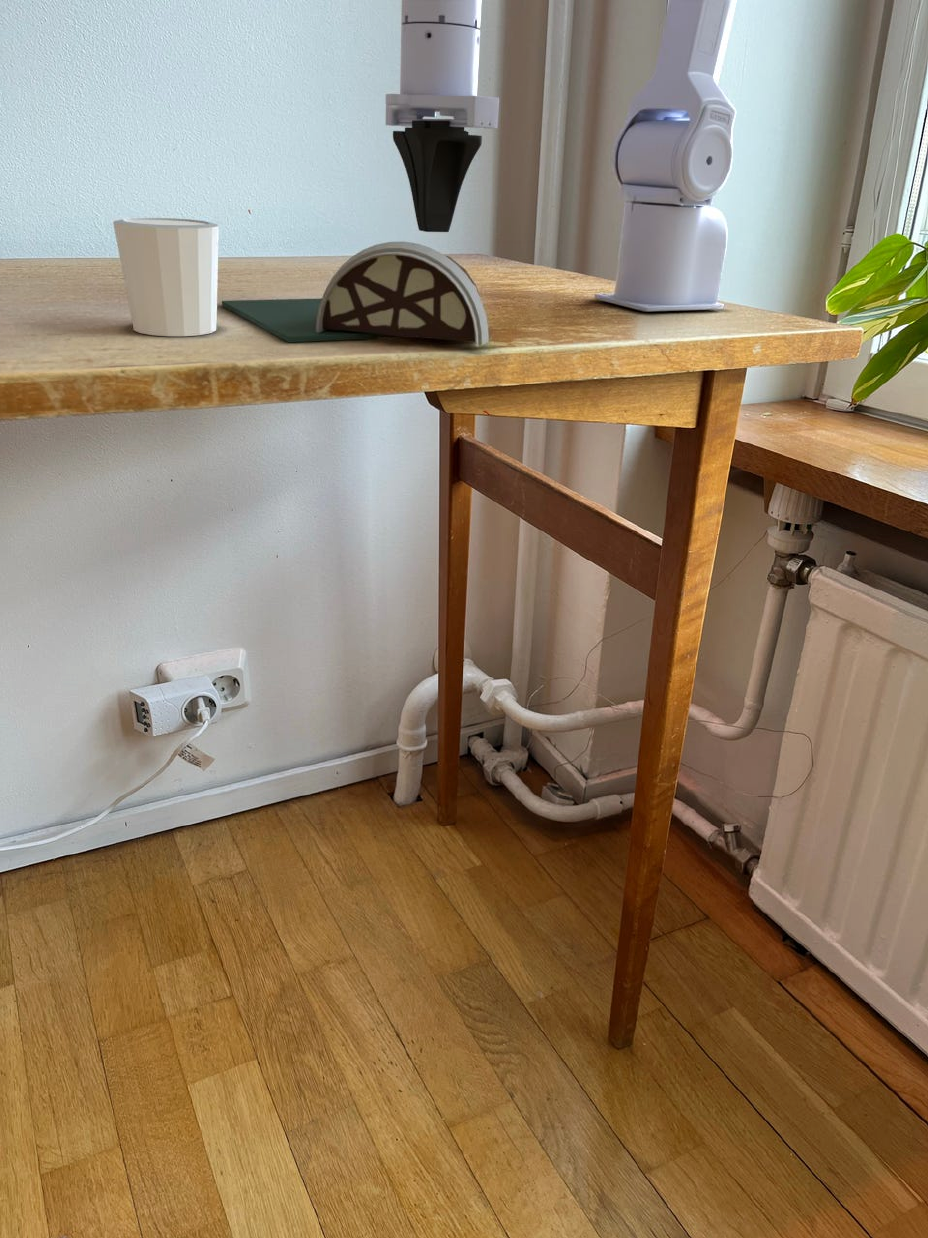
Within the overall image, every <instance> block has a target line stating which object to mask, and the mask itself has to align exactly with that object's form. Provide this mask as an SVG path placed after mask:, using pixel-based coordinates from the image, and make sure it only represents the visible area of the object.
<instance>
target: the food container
mask: <svg viewBox="0 0 928 1238" xmlns="http://www.w3.org/2000/svg"><path fill="white" fill-rule="evenodd" d="M321 298H322V300H321V302H320V305H319V309H318V314H317V320H316V331H317V333H319V332H322V331H324V330H332V331H337V330H339V331H352V332H363V333H374V334H383V335H392V336H404V337H403V338H420V339H421V338H422V339H435V340H446V341H459V342H472V343H474V342H475V347H478V346H484V345H485V344H487V343H489V341H490V340H489V339H490V338H489V324H488V318H487V313H486V310H485V307H484V303H483V300H482V298H481V296H480V293H479V289H478V286H477V285H476V284H475V282H474V280H473V279H472V277H471V276H470V275H469V272H468V271H467V270H466V269H465V268H464V267H463V266H462V265H460V264H459V263H458V262H457V261H456V260H454V259H453V258H452V257H451V256H449V255H446V254H443V253H442V252H439V251H438V250H436V249H434V248H433V247H429V246H426V245H424V244H420V243H417V242H416V243H415V242H410V241H387V242H382V243H377V244H374V245H371V246H368V247H366V248H364V249H362V250H360V251H359V252H357V253H356V254H353V255H352V256H351V257H349V259H347V260H346V262H344V263H343V264H342V265H341V266H340V267H339V268H338V270H337V271H336V272H335V273H334V275H332V277H331V279H330V280H329V283H328V284H327V286H326V288H325V290H324V292H323V294H322V297H321Z"/></svg>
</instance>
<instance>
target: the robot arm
mask: <svg viewBox="0 0 928 1238" xmlns="http://www.w3.org/2000/svg"><path fill="white" fill-rule="evenodd" d="M482 2H483V0H401V14H400V15H401V16H400V17H401V19H400V22H401V23H400V25H401V26H400V72H399V73H400V74H399V75H400V77H399V80H400V81H399V82H400V83H399V93H386V94H385V126H389V127H391V126H392V127H393V126H394V127H404V130H393V131H392V140H393V142H394V144H395V146H396V148H397V150H398V153H399V155H400V157H401V160H402V162H403V166H404V168H405V172H406V175H407V178H408V183H409V188H410V192H411V197H412V202H413V203H412V204H413V208H414V214H415V219H416V224H417V228H418V231H420V232H425V233H449V232H450V229H451V227H452V222H453V219H454V216H455V211H456V207H457V203H458V200H459V196H460V193H461V190H462V186H463V183H464V182H465V181H464V180H465V178H466V176H467V173H468V171H469V168H470V166H471V164H472V162H473V160H474V158H475V156H476V154H477V153H478V152H479V149H480V148H481V147H482V143H483V142H482V141H483V136H482V135H478V134H469V131H467V130H465V128H475V129H476V128H477V129H478V128H480V129H481V128H482V129H493V130H495V129H496V130H497V129H498V125H499V108H500V97H496V96H485V95H478V84H479V83H478V82H479V65H480V64H479V62H480V47H481V23H482V22H481V21H482ZM736 4H737V0H668V5H667V9H666V14H665V19H664V24H663V31H662V34H661V37H660V44H659V48H658V54H657V59H656V64H655V68H654V73H653V75H652V77H651V78H649V80H648V81H647V82H646V83H645V84H644V85H643V87H642V88H641V89H640V90H639V91H638V92H637V93H636V94H635V96H633V98H632V99H631V100H630V102H629V107H628V112H627V115H626V119H625V122H624V124H623V126H622V128H621V129H620V131H619V133H618V134H617V135H616V138H615V141H614V142H613V146H612V151H611V156H610V157H611V159H610V162H611V164H610V165H611V173H612V175H613V179H614V181H615V183H616V185H617V186H618V188H619V189H620V195H619V198H620V199H621V200H625V201H624V205H623V206H624V207H623V214H622V222H621V231H620V239H619V247H618V255H617V256H618V257H617V263H616V264H617V265H616V273H615V283H614V290H613V293H595V294H594V296H593V299H594V300H597V301H602V302H605V303H610V304H613V305H616V306H621V307H625V308H628V309H633V310H636V311H640V312H648V313H649V312H650V313H651V312H674V311H675V312H676V311H678V312H679V311H699V310H700V311H702V310H703V311H704V310H722V309H723V308H724V304H723V303H721V302H718V301H719V295H720V288H721V282H722V276H723V270H724V263H725V258H726V252H727V245H728V237H729V236H728V235H729V234H728V225H727V221H726V218H725V217H724V215H723V213H722V212H721V211H720V210H719V209H718V208H716V207H714V206H712V205H713V199H714V197H715V196H716V195H717V194H718V193H719V192H720V191H721V190H722V188H723V187H724V185H725V184H726V182H727V179H728V178H729V175H730V173H731V170H732V166H733V159H734V145H733V129H734V123H735V119H736V115H737V110H736V108H735V107H734V105H733V103H732V102H731V101H730V100H729V98H728V97H727V96H726V94H725V93H724V92H723V90H722V89H721V87H719V85H718V83H719V79H720V74H721V71H722V66H723V63H724V62H723V61H724V57H725V53H726V49H727V44H728V40H729V35H730V31H731V27H732V22H733V17H734V13H735V9H736ZM437 113H439V116H441V117H453V118H437Z"/></svg>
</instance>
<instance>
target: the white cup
mask: <svg viewBox="0 0 928 1238" xmlns="http://www.w3.org/2000/svg"><path fill="white" fill-rule="evenodd" d="M112 224H113V229H114V235H115V239H116V244H117V250H118V256H119V260H120V266H121V270H122V271H121V272H122V276H123V283H124V286H125V291H126V296H127V302H128V308H129V312H130V317H131V322H132V327H133V328H132V329H133V331H135V332H137V333H139V334H144V335H148V336H159V337H194V336H203V335H209V334H212V333H214V332H216V331H217V322H218V321H217V316H218V280H219V279H218V277H219V238H220V226H219V224H218V223H214V222H210V221H205V220H198V219H190V218H189V219H188V218H172V217H171V218H170V217H133V218H132V217H131V218H124V219H117V220H113V222H112Z"/></svg>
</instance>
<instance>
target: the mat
mask: <svg viewBox="0 0 928 1238" xmlns="http://www.w3.org/2000/svg"><path fill="white" fill-rule="evenodd" d="M321 300H322V297H320V298H284V299H283V298H282V299H281V298H280V299H240V300H239V299H238V300H237V299H235V300H222V301H221V306H222V307H224V308H225V309H227V310H229V311H231V312H232V313H235V314H236V315H238V316H240V317H241V318H243V319H245V320H247V321H248V322H251V323H253V324H254V325H255V326H258V327H259V328H261V329H263V330H265V331H266V332H269V333H270V334H273V336H276V337H278V338H279V339H281V340H283V341H285V342H287V343H306V342H307V343H308V342H329V341H330V342H331V341H332V342H333V341H350V340H351V341H355V340H375V339H376V340H377V339H396V338H405V337H404V336H392V335H383V334H374V333H363V332H352V331H339V330H337V331H332V330H324V331H322V332H319V333H317V331H316V320H317V314H318V309H319V305H320V302H321Z"/></svg>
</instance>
